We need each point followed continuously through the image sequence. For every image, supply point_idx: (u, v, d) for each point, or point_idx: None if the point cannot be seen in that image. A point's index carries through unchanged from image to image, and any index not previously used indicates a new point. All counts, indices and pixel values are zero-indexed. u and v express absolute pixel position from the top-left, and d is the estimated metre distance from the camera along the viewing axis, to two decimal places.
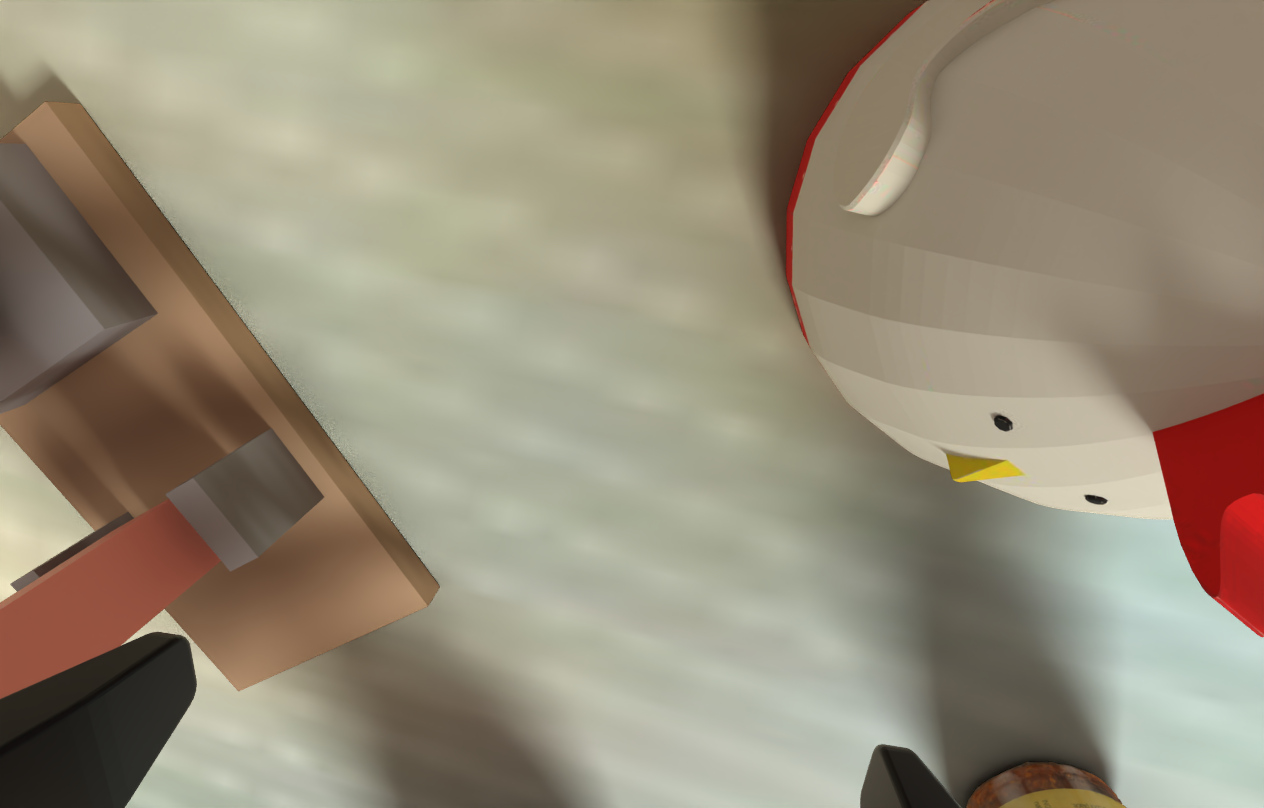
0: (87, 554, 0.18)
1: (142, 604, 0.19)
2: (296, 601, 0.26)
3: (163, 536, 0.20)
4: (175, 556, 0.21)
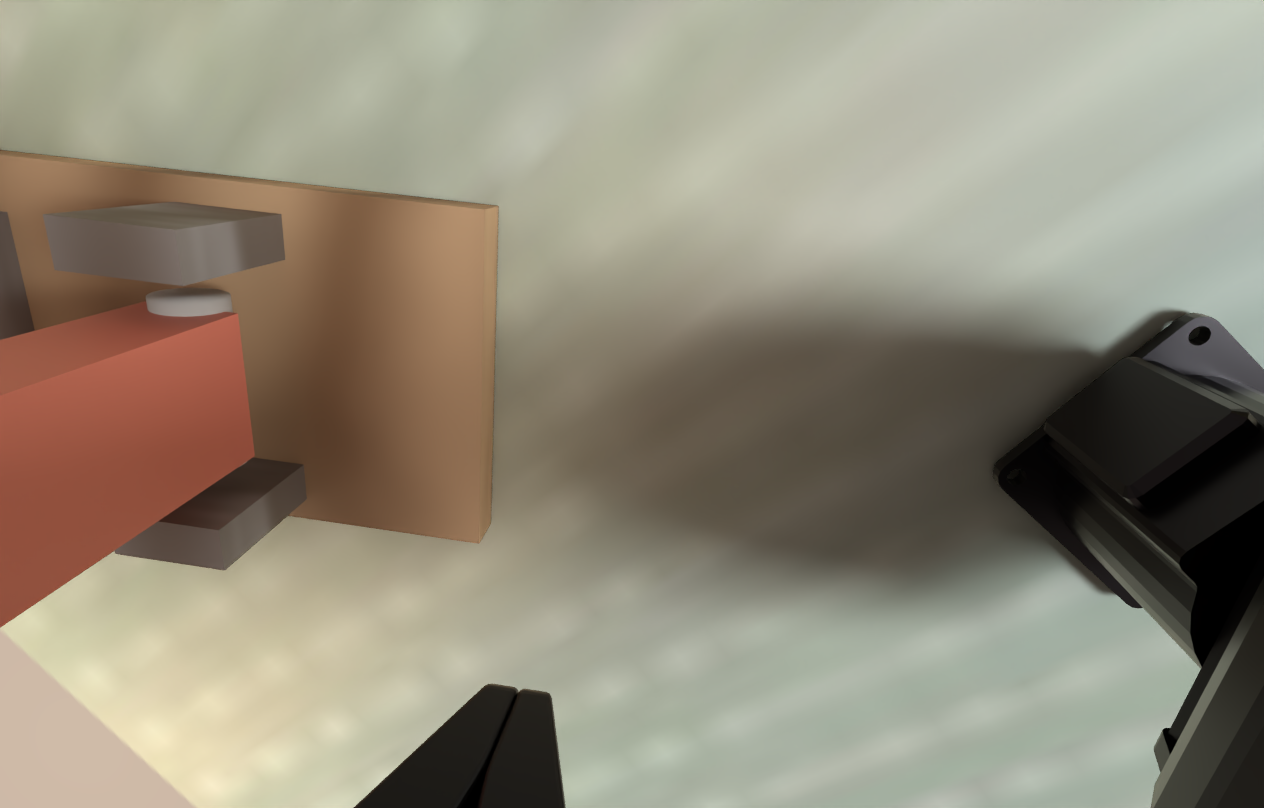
0: None
1: (87, 354, 0.13)
2: (397, 370, 0.19)
3: (107, 324, 0.15)
4: (132, 329, 0.15)
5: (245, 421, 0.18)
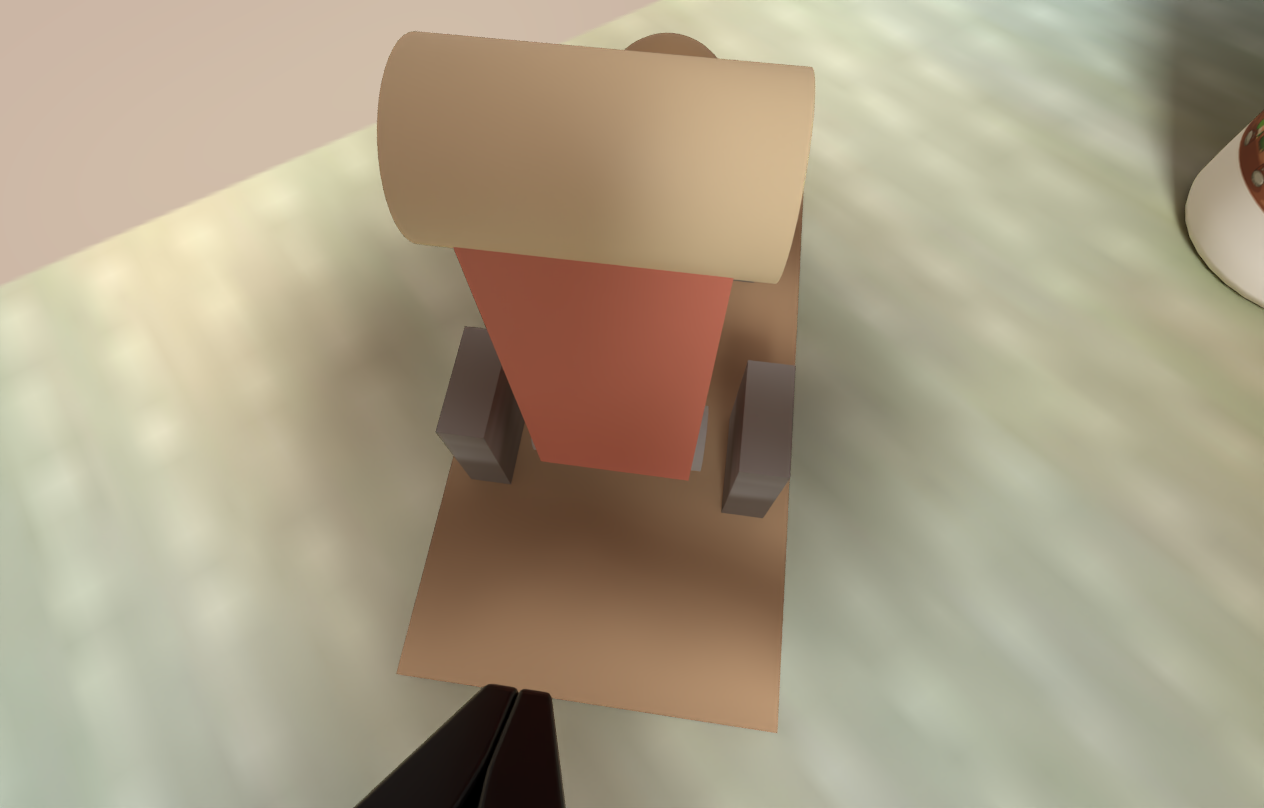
0: None
1: None
2: (610, 607, 0.18)
3: None
4: None
5: (581, 464, 0.18)
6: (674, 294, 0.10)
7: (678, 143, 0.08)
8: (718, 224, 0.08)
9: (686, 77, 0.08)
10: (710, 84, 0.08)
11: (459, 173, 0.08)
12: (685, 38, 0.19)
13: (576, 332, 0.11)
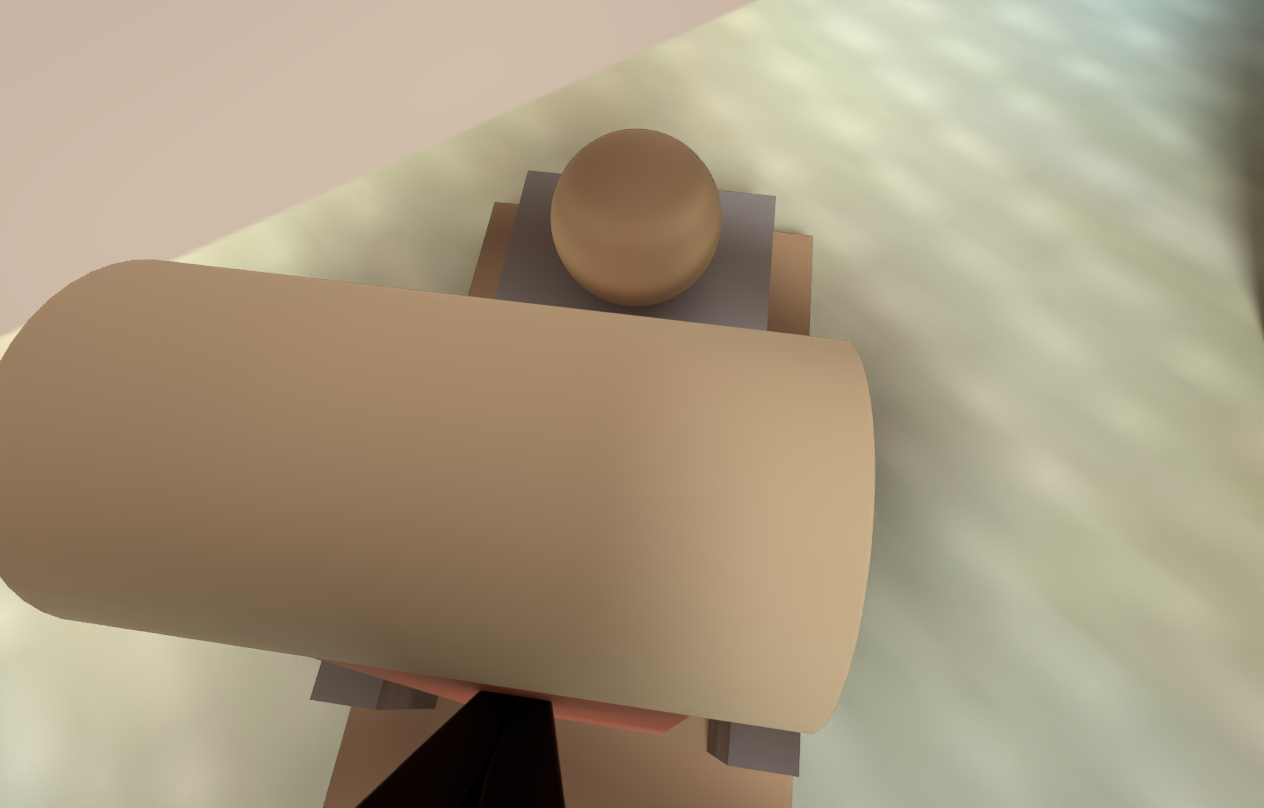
0: None
1: None
2: None
3: None
4: None
5: None
6: None
7: (584, 550, 0.04)
8: (675, 687, 0.04)
9: (608, 397, 0.04)
10: (656, 419, 0.04)
11: (145, 577, 0.04)
12: (659, 139, 0.14)
13: (462, 681, 0.07)
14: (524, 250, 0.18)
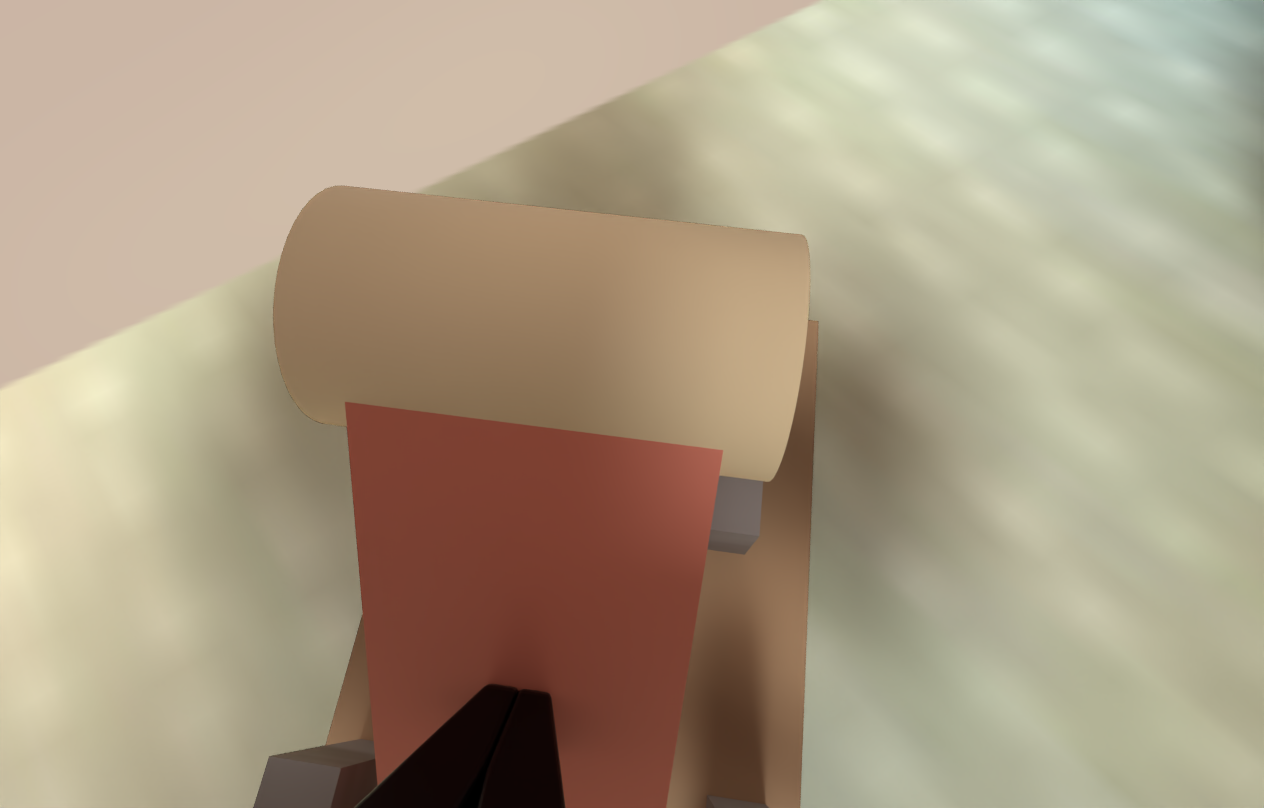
0: None
1: None
2: None
3: None
4: None
5: None
6: (642, 489, 0.07)
7: (654, 251, 0.07)
8: (705, 339, 0.06)
9: (662, 220, 0.07)
10: (689, 223, 0.07)
11: (380, 271, 0.07)
12: None
13: (493, 581, 0.08)
14: None
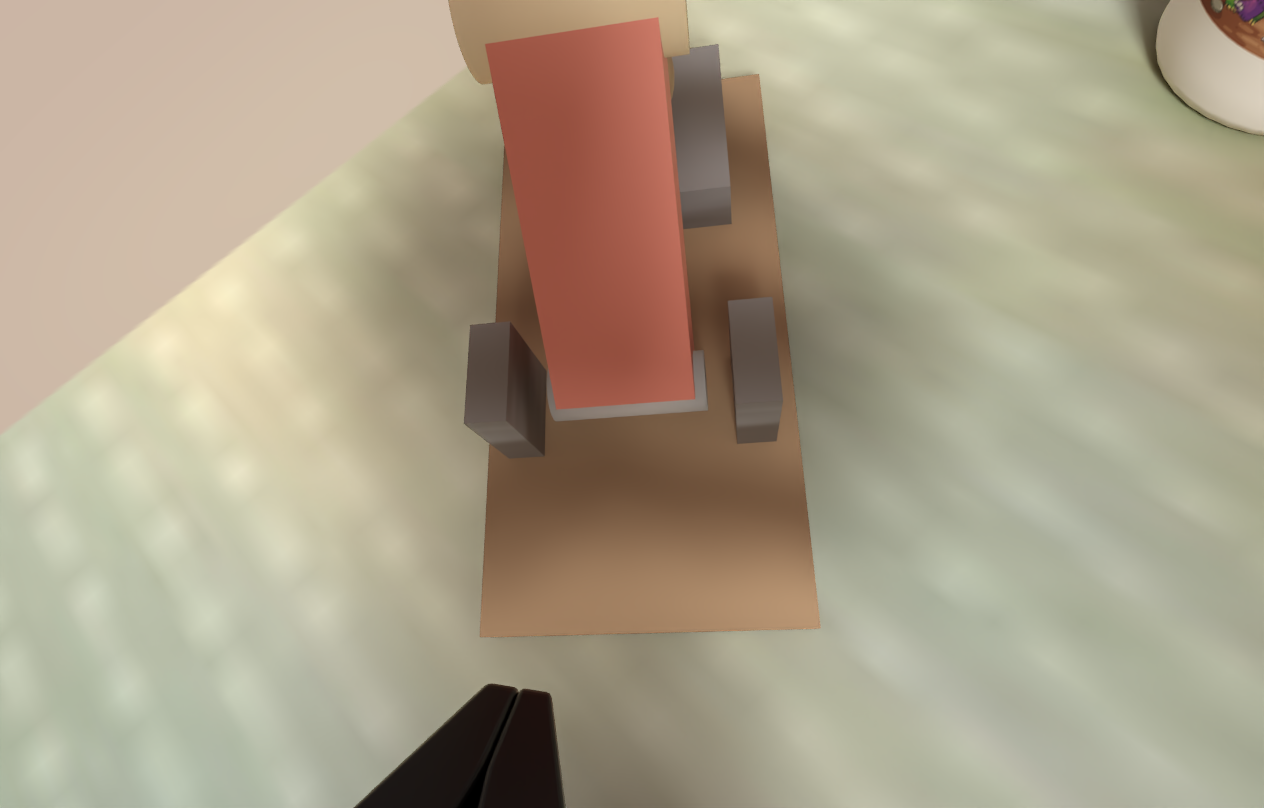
0: (682, 235, 0.19)
1: (682, 258, 0.18)
2: (652, 546, 0.20)
3: (689, 311, 0.19)
4: (688, 314, 0.19)
5: (592, 400, 0.19)
6: (626, 51, 0.15)
7: None
8: None
9: None
10: None
11: None
12: None
13: (568, 130, 0.16)
14: None
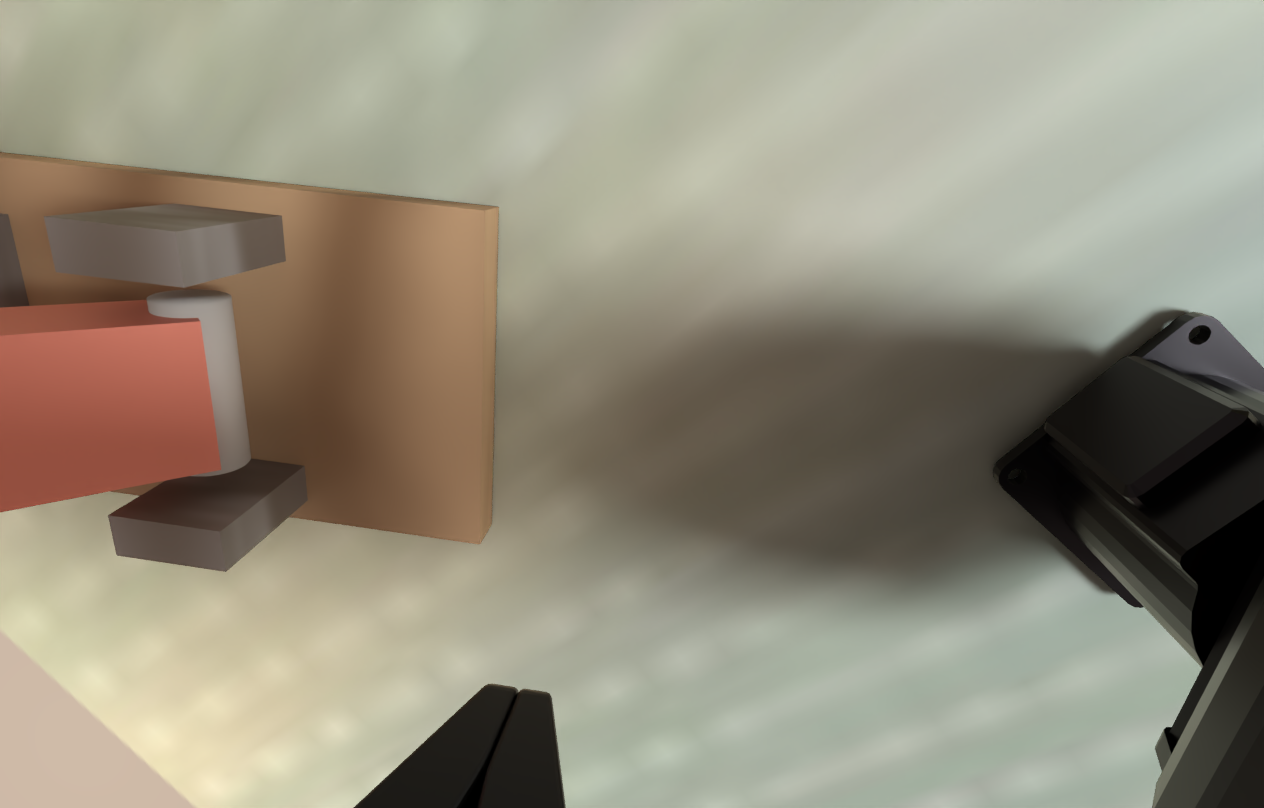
0: None
1: None
2: (397, 371, 0.19)
3: (89, 310, 0.16)
4: (84, 318, 0.15)
5: (206, 432, 0.17)
6: None
7: None
8: None
9: None
10: None
11: None
12: None
13: None
14: None
